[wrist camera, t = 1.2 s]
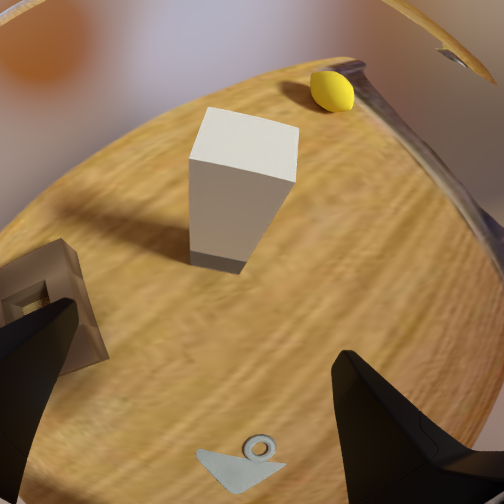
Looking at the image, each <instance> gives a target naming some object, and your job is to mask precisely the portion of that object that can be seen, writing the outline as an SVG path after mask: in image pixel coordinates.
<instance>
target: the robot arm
mask: <svg viewBox="0 0 504 504" xmlns="http://www.w3.org/2000/svg"><path fill="white" fill-rule="evenodd" d="M78 325H79V314H78V308H77V302H76V301H75V300H74V299H71V298H68V297H63V298H61V299H59V300H57V301H55V302H53V303H50V304H48V305H46V306H44V307H42V308H40V309H38V310H36V311H33V312H31V313H29V314H27V315H25V316H23V317H21V318H19V319H17V320H15V321H13V322H11V323H9V324H7V325H5V326H3V327H1V328H0V498H2V499H3V500H6V501H7V502H9V503H11V504H16V503H17V498H18V494H19V489H20V485H21V481H22V477H23V473H24V469H25V466H26V462H27V458H28V455H29V452H30V448H31V445H32V442H33V439H34V436H35V433H36V431H37V428H38V425H39V422H40V420H41V417H42V414H43V412H44V409H45V407H46V404H47V402H48V399H49V397H50V394H51V392H52V390H53V387H54V385H55V383H56V381H57V378H58V376H59V374H60V372H61V370H62V367H63V365H64V363H65V360H66V358H67V355H68V352H69V349H70V347H71V344H72V341H73V338H74V336H75V333H76V330H77V328H78ZM331 376H332V388H333V402H334V411H335V417H336V422H337V428H338V433H339V439H340V445H341V452H342V458H343V464H344V471H345V478H346V485H347V492H348V500H349V504H504V451H475V450H471V449H469V448H467V447H465V446H464V445H463V444H461V443H460V442H458V441H457V440H456V439H454V438H453V437H452V436H450V435H449V434H448V433H446V432H445V431H444V430H442V429H441V428H440V427H439V426H437V425H436V424H435V423H434V422H432V421H431V420H430V419H429V418H428V417H427V416H425V415H424V414H423V413H422V412H421V411H419V410H418V408H416V407H415V406H414V405H413V404H412V403H411V402H410V401H409V400H408V399H406V398H405V397H404V396H403V395H402V394H401V393H400V392H399V391H398V390H396V389H395V388H394V387H393V386H392V385H391V384H390V383H389V382H388V381H386V380H385V379H384V378H383V377H382V376H381V375H380V374H379V373H378V372H377V371H375V370H374V369H373V368H372V367H371V366H370V365H369V364H368V363H367V362H365V361H364V360H363V359H362V358H361V357H360V356H359V355H358V354H357V353H356V352H354V351H352V350H342V351H341V352H340V354H339V355H338V357H337V359H336V360H335V362H334V364H333V365H332V368H331Z"/></svg>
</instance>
